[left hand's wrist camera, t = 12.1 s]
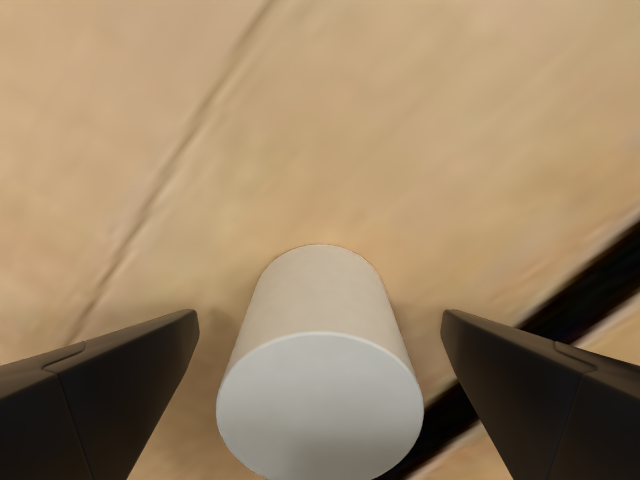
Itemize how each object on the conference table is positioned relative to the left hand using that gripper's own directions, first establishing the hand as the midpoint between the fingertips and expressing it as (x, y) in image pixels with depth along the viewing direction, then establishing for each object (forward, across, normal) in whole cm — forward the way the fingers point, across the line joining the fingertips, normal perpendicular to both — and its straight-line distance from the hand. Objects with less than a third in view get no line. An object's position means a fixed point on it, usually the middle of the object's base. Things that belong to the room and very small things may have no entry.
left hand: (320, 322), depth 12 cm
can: (+1, 0, 0) cm, 1 cm away
